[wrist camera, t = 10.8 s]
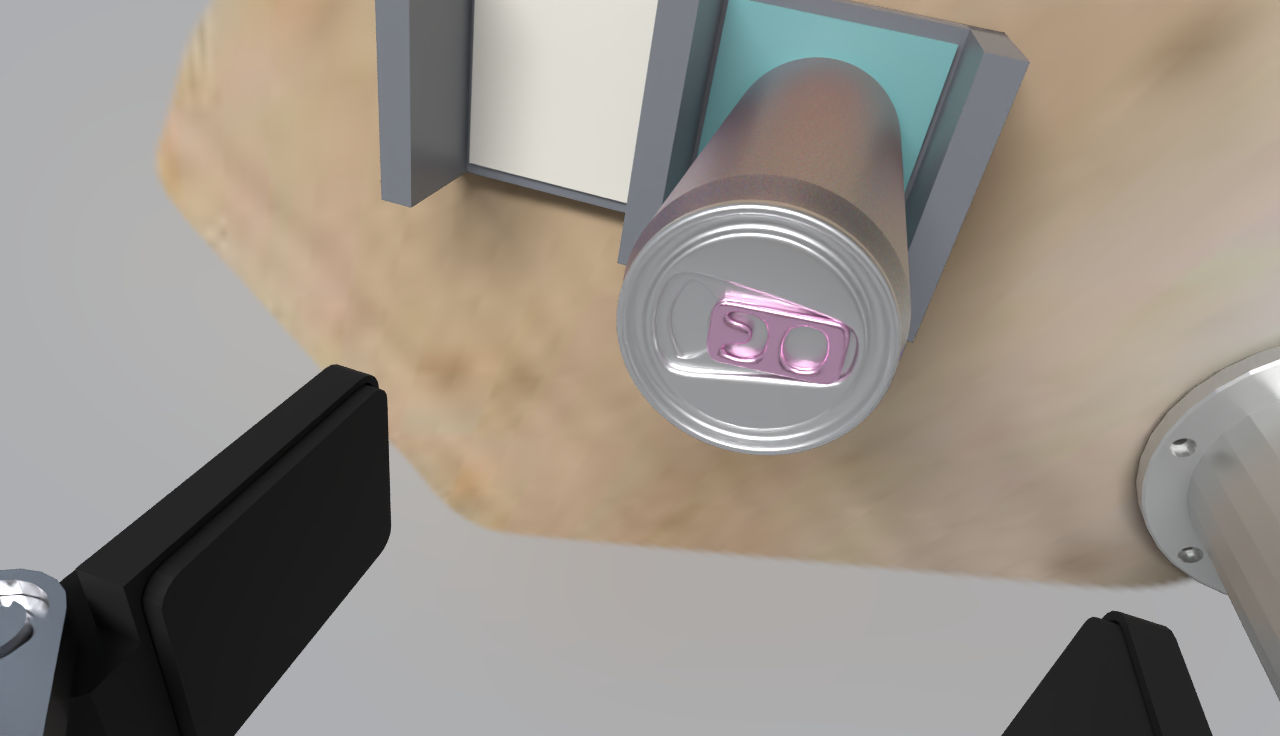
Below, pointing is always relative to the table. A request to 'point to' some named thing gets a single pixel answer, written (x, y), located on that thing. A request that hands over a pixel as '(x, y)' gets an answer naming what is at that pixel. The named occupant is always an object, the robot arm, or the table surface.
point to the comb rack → (672, 98)
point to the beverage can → (777, 268)
